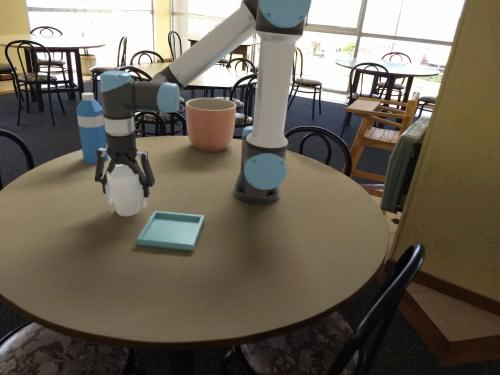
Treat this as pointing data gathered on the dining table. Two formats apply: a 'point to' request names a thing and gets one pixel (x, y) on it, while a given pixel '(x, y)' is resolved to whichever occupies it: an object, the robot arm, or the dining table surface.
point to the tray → (171, 231)
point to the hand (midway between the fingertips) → (127, 204)
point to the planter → (210, 123)
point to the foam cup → (124, 190)
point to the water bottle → (91, 127)
